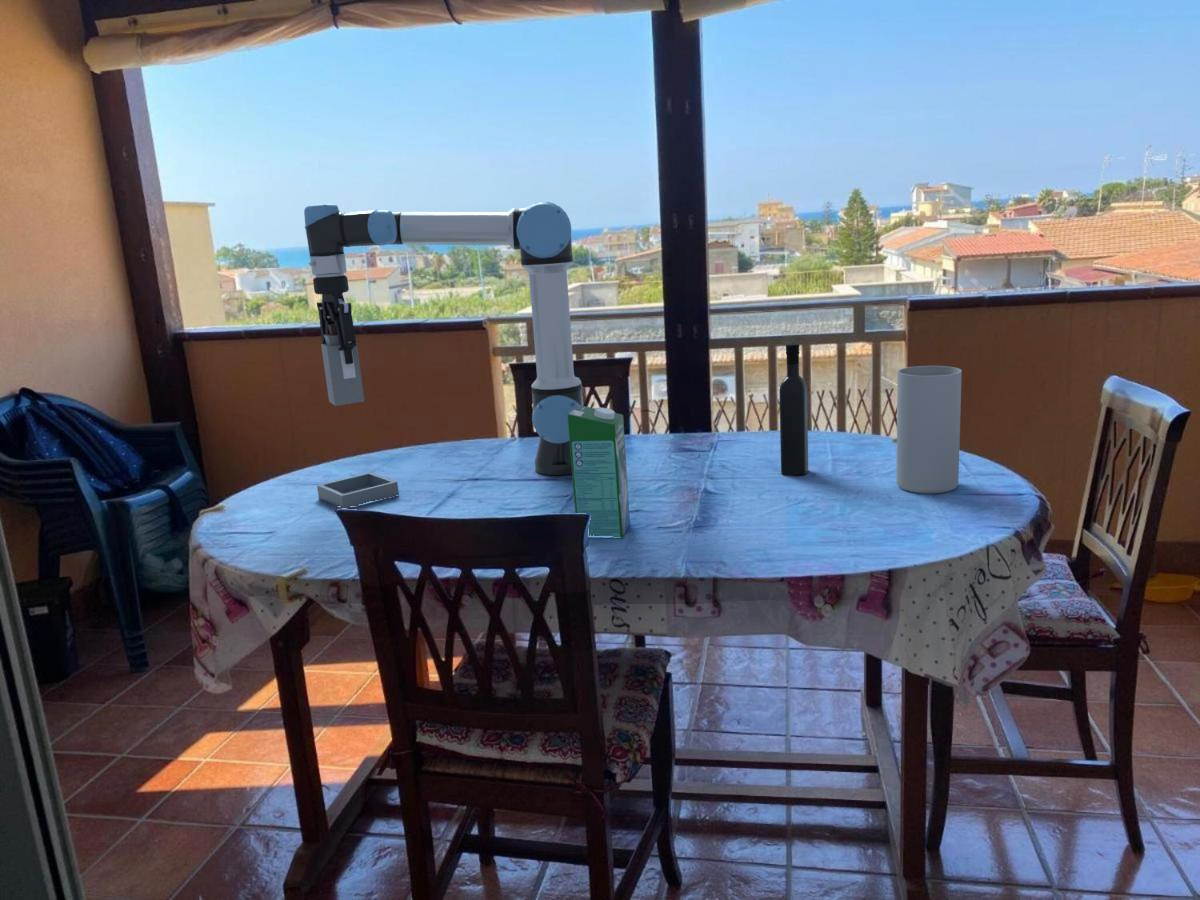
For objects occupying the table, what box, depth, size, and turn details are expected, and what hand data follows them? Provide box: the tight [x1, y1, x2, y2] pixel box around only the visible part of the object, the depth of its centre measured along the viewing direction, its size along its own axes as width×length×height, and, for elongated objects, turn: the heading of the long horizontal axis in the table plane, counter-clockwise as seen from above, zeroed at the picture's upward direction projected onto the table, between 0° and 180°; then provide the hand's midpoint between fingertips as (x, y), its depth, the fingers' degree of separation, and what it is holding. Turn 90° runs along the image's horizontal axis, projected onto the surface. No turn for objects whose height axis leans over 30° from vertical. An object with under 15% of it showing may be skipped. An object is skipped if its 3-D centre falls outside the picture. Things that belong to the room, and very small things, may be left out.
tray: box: [316, 472, 400, 509], centre depth 215 cm, size 14×14×4 cm
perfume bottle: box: [320, 324, 365, 407], centre depth 208 cm, size 7×7×18 cm
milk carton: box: [567, 405, 631, 538], centre depth 177 cm, size 9×9×25 cm
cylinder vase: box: [895, 365, 963, 495], centre depth 190 cm, size 12×12×25 cm
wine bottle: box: [778, 343, 809, 476], centre depth 207 cm, size 6×6×30 cm
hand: (343, 376), depth 209 cm, fingers closed on perfume bottle, 6 cm apart
